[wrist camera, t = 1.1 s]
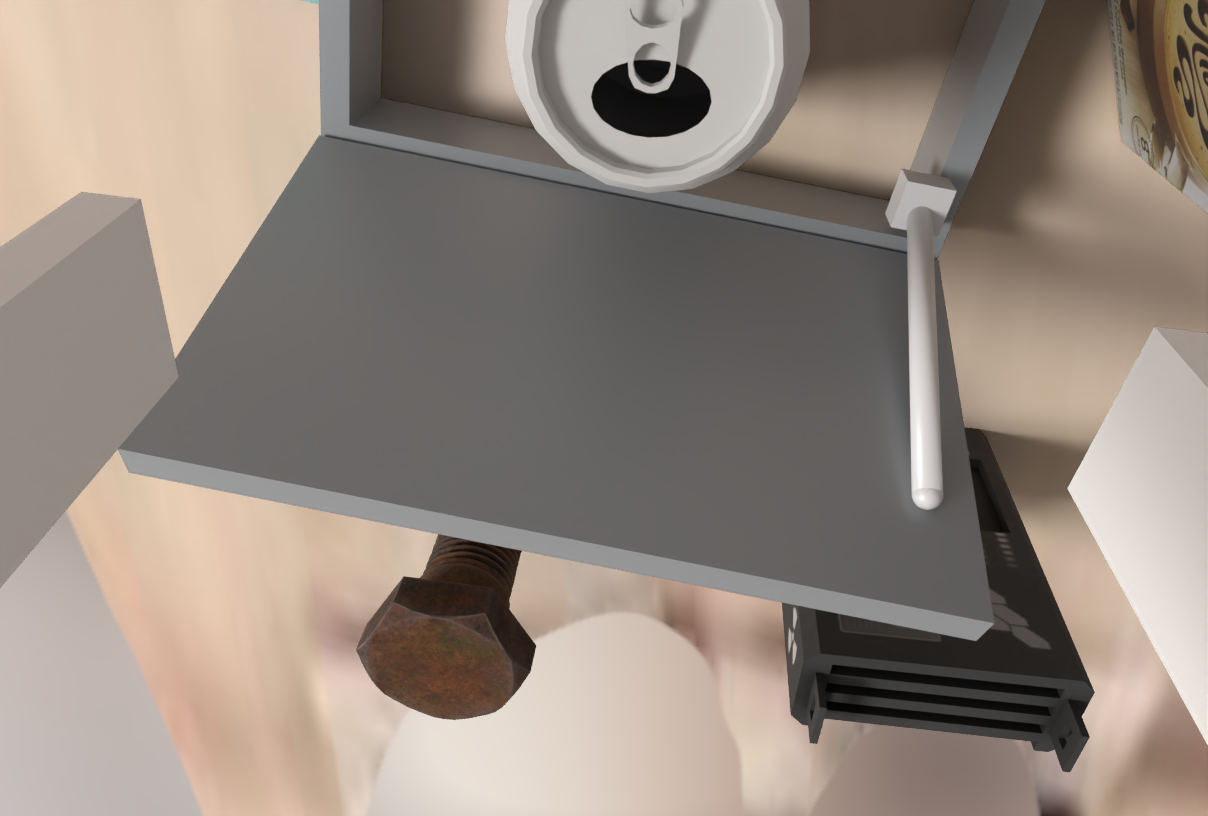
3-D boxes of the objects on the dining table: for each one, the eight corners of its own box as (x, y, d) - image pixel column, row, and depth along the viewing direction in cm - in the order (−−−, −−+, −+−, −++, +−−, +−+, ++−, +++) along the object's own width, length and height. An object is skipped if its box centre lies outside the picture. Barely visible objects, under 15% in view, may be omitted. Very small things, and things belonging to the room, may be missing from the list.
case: (1085, -202, 26) (1514, -211, 12) (878, 322, 37) (978, 648, 22) (357, -352, 26) (-69, -538, 12) (354, 217, 36) (123, 478, 22)
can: (565, 87, 33) (498, 209, 23) (562, -153, 28) (479, -132, 19) (770, 96, 32) (794, 225, 22) (799, -149, 28) (843, -124, 18)
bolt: (507, 338, 39) (410, 585, 27) (603, 396, 40) (551, 659, 28) (447, 423, 42) (333, 681, 30) (537, 475, 43) (465, 744, 31)
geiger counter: (748, 488, 42) (760, 771, 30) (761, 410, 40) (780, 683, 27) (972, 509, 41) (1080, 808, 29) (1000, 431, 39) (1131, 722, 27)
